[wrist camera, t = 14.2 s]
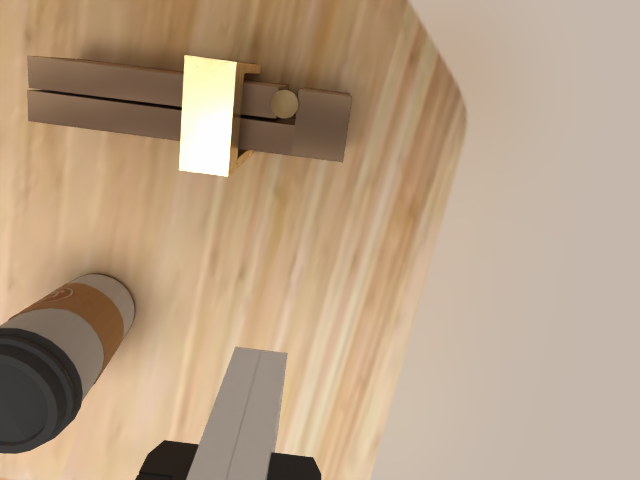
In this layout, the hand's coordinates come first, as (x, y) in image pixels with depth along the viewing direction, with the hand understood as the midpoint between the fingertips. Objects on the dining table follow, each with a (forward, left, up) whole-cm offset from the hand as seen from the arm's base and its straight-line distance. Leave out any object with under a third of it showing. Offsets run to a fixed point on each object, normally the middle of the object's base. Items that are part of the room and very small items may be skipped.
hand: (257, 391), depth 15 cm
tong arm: (-7, -11, -29) cm, 32 cm away
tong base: (-6, -8, -29) cm, 31 cm away
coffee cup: (+13, -17, -30) cm, 37 cm away
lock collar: (-6, -6, -29) cm, 31 cm away
